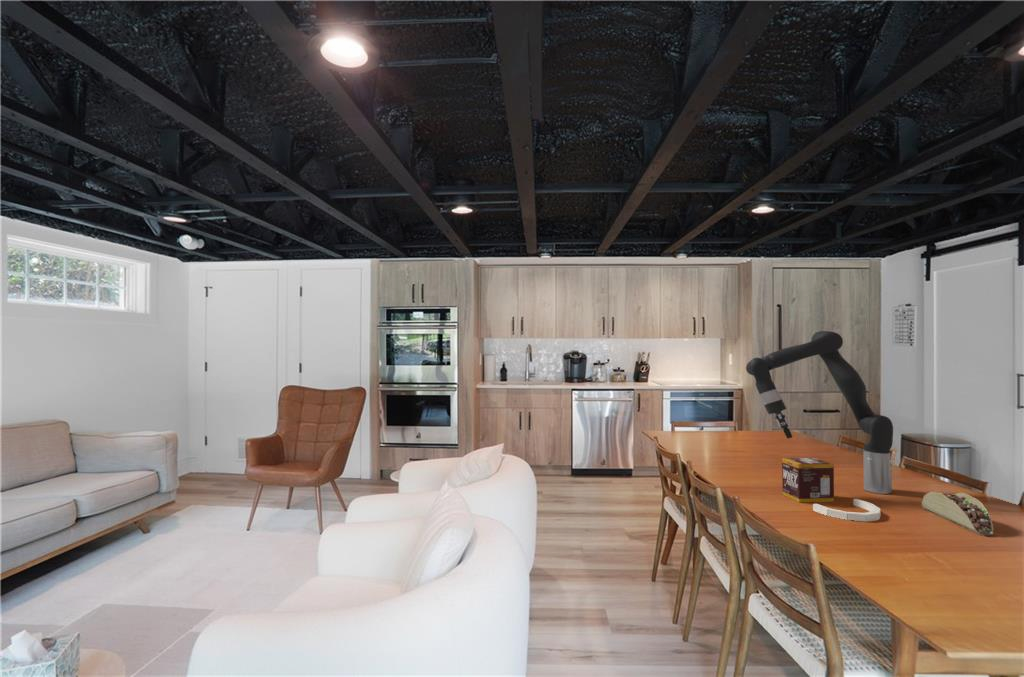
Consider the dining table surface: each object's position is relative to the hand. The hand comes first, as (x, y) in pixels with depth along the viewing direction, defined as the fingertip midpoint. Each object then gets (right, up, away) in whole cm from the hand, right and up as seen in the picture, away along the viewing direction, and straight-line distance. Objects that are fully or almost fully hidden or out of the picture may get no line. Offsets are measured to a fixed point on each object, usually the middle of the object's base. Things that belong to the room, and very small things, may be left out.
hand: (789, 437), depth 199 cm
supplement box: (+4, -24, -5) cm, 25 cm away
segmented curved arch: (+10, -24, -24) cm, 35 cm away
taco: (+41, -24, -31) cm, 57 cm away
